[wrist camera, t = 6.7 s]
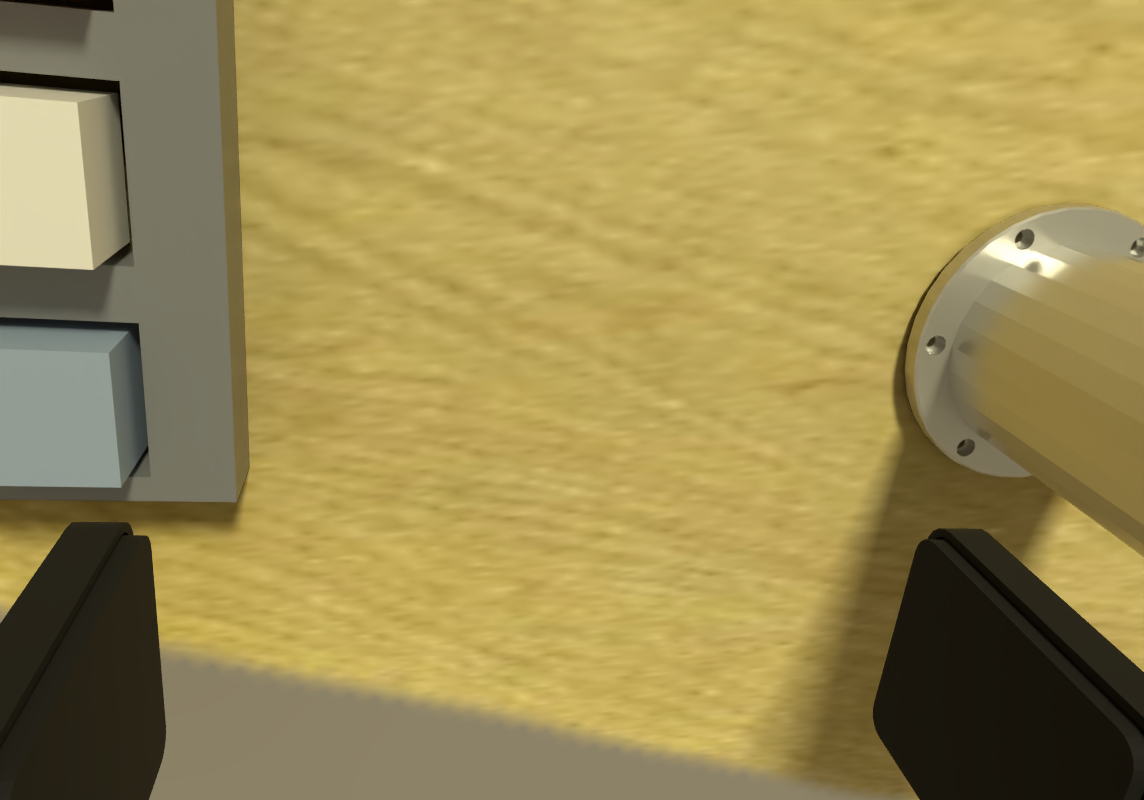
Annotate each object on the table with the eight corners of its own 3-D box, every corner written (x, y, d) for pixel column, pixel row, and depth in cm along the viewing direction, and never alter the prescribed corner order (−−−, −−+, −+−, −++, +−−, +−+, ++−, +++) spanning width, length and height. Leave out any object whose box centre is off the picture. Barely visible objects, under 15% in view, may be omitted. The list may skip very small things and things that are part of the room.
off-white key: (118, 92, 30) (77, 102, 27) (129, 241, 32) (92, 270, 29) (-49, 78, 29) (-115, 86, 26) (-27, 232, 31) (-86, 260, 28)
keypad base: (225, -216, 29) (205, -241, 26) (249, 467, 38) (236, 502, 35) (-207, -280, 27) (-278, -314, 24) (-75, 461, 35) (-116, 498, 33)
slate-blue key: (141, 317, 34) (108, 353, 30) (151, 440, 36) (121, 487, 32) (-6, 310, 33) (-59, 346, 29) (11, 436, 35) (-36, 485, 31)
